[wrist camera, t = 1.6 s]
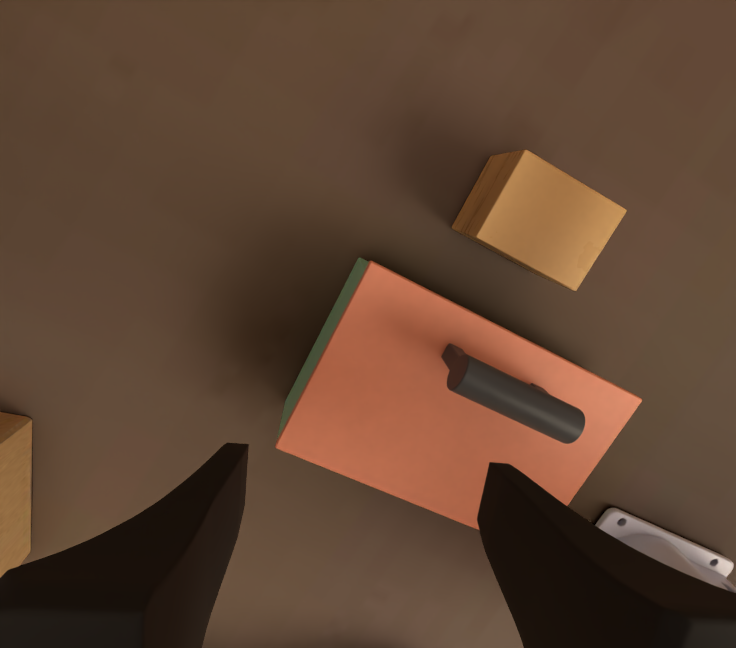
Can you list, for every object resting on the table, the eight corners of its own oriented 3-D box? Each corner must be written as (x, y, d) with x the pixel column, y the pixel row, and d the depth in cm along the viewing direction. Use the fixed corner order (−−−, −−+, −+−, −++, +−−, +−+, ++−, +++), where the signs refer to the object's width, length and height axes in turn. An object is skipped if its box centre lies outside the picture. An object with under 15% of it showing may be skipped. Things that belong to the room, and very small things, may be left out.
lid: (370, 259, 18) (379, 277, 15) (636, 394, 21) (699, 438, 17) (275, 441, 20) (263, 497, 16) (530, 545, 22) (566, 612, 19)
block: (576, 205, 22) (628, 210, 18) (535, 273, 23) (575, 292, 19) (490, 155, 21) (525, 148, 17) (450, 228, 22) (475, 237, 18)
